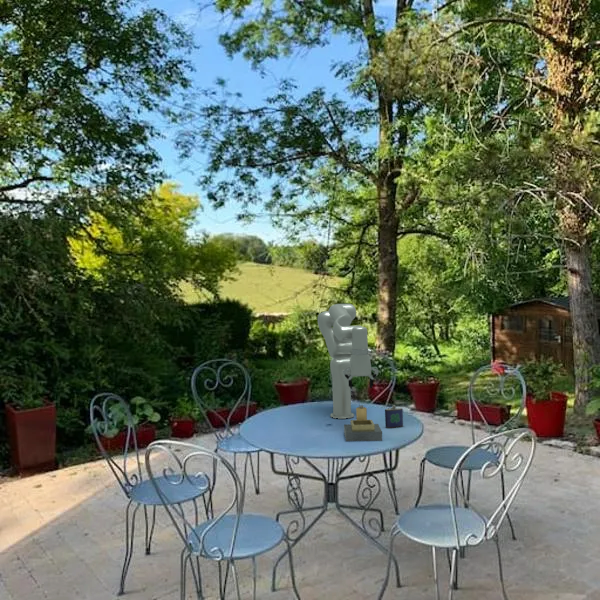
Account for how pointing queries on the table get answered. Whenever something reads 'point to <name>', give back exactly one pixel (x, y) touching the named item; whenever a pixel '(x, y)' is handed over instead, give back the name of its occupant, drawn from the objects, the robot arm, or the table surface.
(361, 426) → the grey square socket base
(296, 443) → the table surface
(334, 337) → the robot arm
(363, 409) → the cylinder
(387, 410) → the wallet
